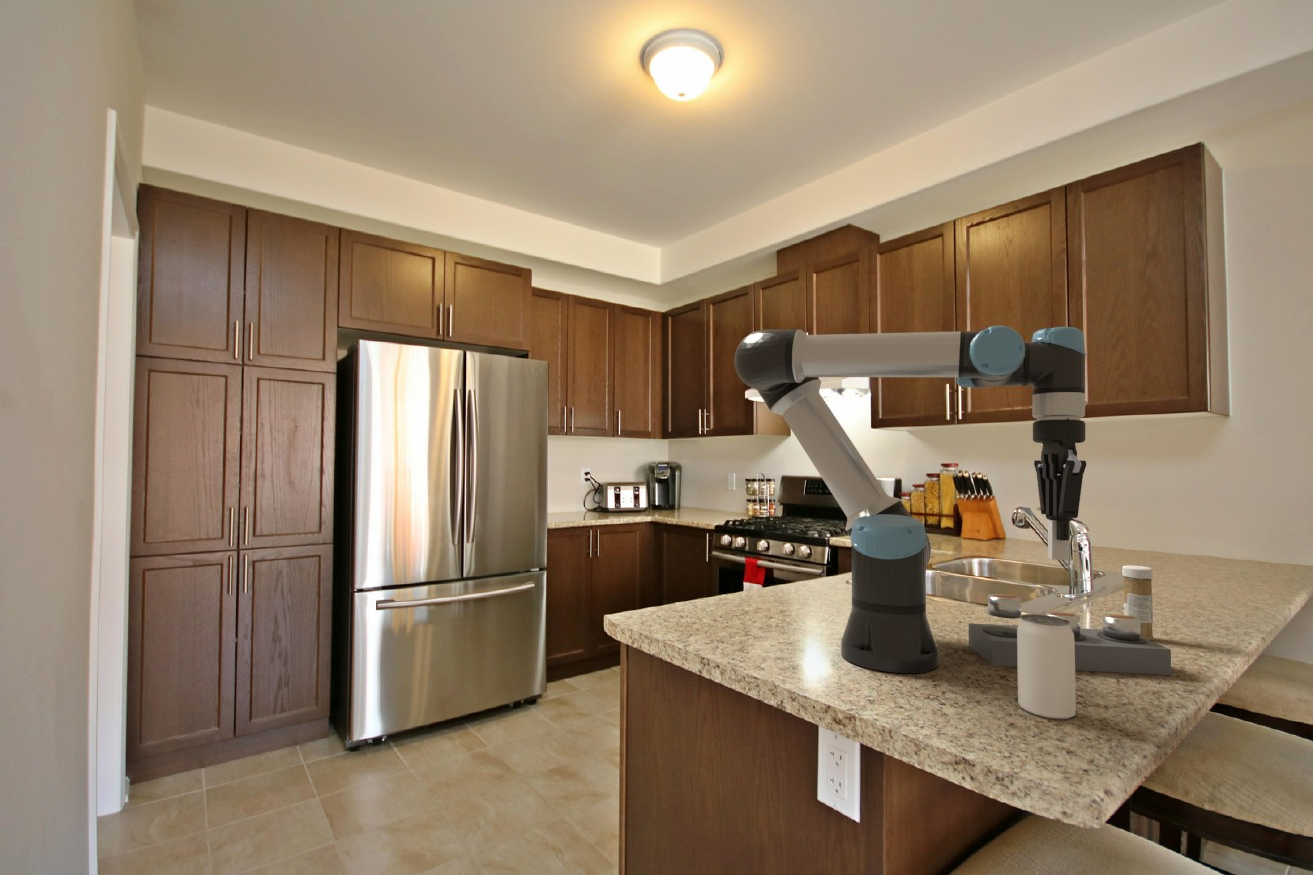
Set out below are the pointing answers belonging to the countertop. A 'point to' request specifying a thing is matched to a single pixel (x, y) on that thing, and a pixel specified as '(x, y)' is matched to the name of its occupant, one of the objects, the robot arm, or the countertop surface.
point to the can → (1046, 666)
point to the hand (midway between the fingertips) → (1058, 558)
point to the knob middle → (1070, 617)
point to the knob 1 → (1004, 606)
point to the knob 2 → (1121, 626)
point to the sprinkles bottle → (1139, 596)
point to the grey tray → (1077, 650)
